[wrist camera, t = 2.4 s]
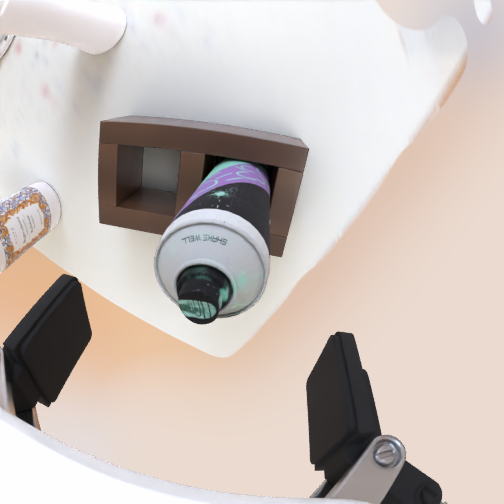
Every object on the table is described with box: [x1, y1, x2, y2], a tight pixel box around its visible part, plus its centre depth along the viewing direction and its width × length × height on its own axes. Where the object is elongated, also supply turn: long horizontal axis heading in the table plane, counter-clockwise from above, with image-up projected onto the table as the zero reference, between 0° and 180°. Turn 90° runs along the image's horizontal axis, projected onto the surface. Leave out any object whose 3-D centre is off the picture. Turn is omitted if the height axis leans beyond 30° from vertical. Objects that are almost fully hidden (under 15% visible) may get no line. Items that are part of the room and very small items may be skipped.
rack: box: [98, 116, 309, 257], centre depth 26 cm, size 10×18×6 cm, turn 80°
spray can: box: [154, 157, 270, 324], centre depth 20 cm, size 6×6×20 cm
